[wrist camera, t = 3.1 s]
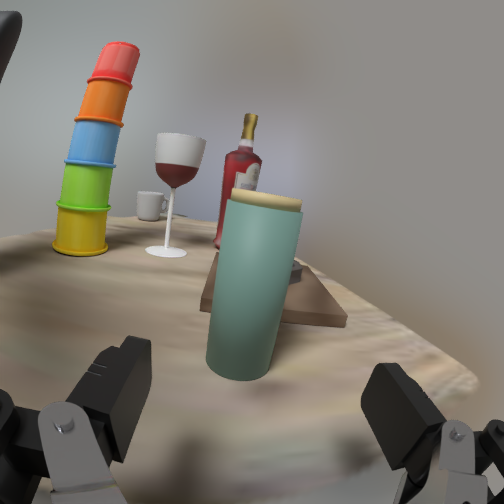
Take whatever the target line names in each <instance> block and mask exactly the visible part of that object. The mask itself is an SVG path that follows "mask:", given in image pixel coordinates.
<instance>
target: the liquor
mask: <svg viewBox="0 0 504 504" xmlns="http://www.w3.org/2000/svg"><path fill="white" fill-rule="evenodd" d="M257 120H258V116H257V115H255V114H245V118H244V129H243V132H242V136H241V140H240V144H239V147H238V150H236V151H232V152H230V153H228V154H227V155H226V157H225V165H224V173H223V181H222V191H221V201H220V209H219V218H218V226H217V234H216V238H215V239H214V241H213V242H214V243H215V245H216V246H217V247H218V249H220V244H221V237H222V230H223V224H224V217H225V211H226V205H227V199H231V193H232V188H237V189H243V190H250V191H256V187H257V183H258V177H259V173H260V168H261V164H262V160H261V159H260V158H259V156H257V155H256V154H254V153H253V141H254V130H255V127H256V125H257Z"/></svg>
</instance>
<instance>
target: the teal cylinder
mask: <svg viewBox="0 0 504 504" xmlns="http://www.w3.org/2000/svg"><path fill="white" fill-rule="evenodd" d="M301 205H302V200H299V199H294V198H289V197H284V196H278V195H273V194H267V193H261V192H256V191H250V190H243V189H237V188H232V193H231V199H227V205H226V211H225V217H224V224H223V230H222V237H221V244H220V251H219V257H218V264H217V272H216V279H215V286H214V294H213V301H212V309H211V317H210V325H209V334H208V342H207V351H206V362H207V365H208V366H209V367H210V369H211V370H213V371H214V372H215V373H217V374H218V375H220V376H222V377H225V378H228V379H232V380H237V381H249V380H255V379H258V378H260V377H262V376H263V375H265V374H266V373H267V371H268V369H269V365H270V361H271V357H272V353H273V349H274V345H275V341H276V337H277V333H278V329H279V324H280V320H281V316H282V311H283V307H284V303H285V298H286V294H287V289H288V285H289V280H290V276H291V271H292V266H293V261H294V257H295V252H296V247H297V241H298V237H299V232H300V227H301V221H302V216H303V213H302V212H300V210H301Z"/></svg>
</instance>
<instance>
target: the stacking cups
mask: <svg viewBox="0 0 504 504" xmlns="http://www.w3.org/2000/svg"><path fill="white" fill-rule="evenodd" d="M119 43H121V44H119ZM108 44H109V45H108ZM108 44H107V45H106V46H105V47H104V48H103V49H102V51H101V54H100V56H99V58H98V61H97V63H96V66H95V69H94V71H93V74H92V77H91V78H89V79H88V80H87V83H88V87H87V90H86V93H85V95H84V99H83V102H82V105H81V108H80V112H79V115H78V117H76V118H75V119H74V121H75V122H76V124H75V128H74V132H73V136H72V140H71V145H70V149H69V154H68V159H65V160H64V162H65V163H66V166H65V171H64V178H63V184H62V191H61V198H60V200H59V201H57V202H56V205H57V206H58V207H59V208H58V218H57V230H56V240H54V241H53V242H52V247H53V248H54V249H55V250H56V251H58V252H60V253H63V254H67V255H74V256H92V255H98V254H102V253H104V252H106V251H107V249H108V245H107V243H105V230H106V219H107V211H109V210H110V209H111V206H110V205H108V199H109V191H110V184H111V178H112V171H113V168H115V167H116V165H113V163H114V157H115V152H116V147H117V142H118V138H119V133H120V128H122V127H123V126H124V124H123V123H122V122H121V120H122V117H123V112H124V108H125V105H126V101H127V97H128V94H129V91H130V90H131V89H132V84H131V81H132V78H133V74H134V71H135V68H136V65H137V62H138V59H139V56H140V53H139V49H138V48H137V47H136V46H135V45H133V44H130V43H126V42H111V43H108Z"/></svg>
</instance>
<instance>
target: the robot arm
mask: <svg viewBox="0 0 504 504" xmlns="http://www.w3.org/2000/svg"><path fill="white" fill-rule="evenodd" d="M21 28H22V16H21V14H20V13H19V12H17V11H0V83H1V80H2V77H3V75H4V72H5V70H6V68H7V65H8V63H9V60H10V58H11V56H12V53H13V51H14V49H15V46H16V43H17V41H18V38H19V35H20V32H21ZM151 380H152V366H151V341H150V340H147V339H143V338H138V337H134V336H130V335H129V336H127V337H126V339H125V340H124V342H123V343H122V345H121V346H120V348H118V347H114V346H111V347H109V348H107V349H106V350H104V351H102V352H100V354H99V355H98V356H97V358H96V359H95V360H94V362H93V364H91V366H90V367H89V368H88V371H87V372H86V373H85V374H84V375H83V377H82V378H81V380H80V381H79V382H78V384H77V385H76V387H75V388H74V390H73V391H72V392H71V394H70V395H69V397H68V398H67V400H66V401H65V402H54V403H51V404H49V405H47V406H45V407H44V408H43V409H42V410H41V411H37V410H32V409H27V408H22V407H17V406H15V405H14V403H13V401H12V399H11V397H10V395H9V394H8V393H7V392H5V391H4V390H2V389H0V504H31V503H32V500H33V498H34V495H35V493H36V490H37V488H38V485H39V483H40V480H41V478H42V477H46V478H51V481H52V485H53V491H51V492H50V496H51V501H52V504H127V502H126V500H125V498H124V496H123V495H122V493H121V491H120V489H119V487H118V485H117V484H116V482H115V480H114V479H113V477H112V474H111V472H110V470H109V467H110V464H111V462H112V460H114V461H117V462H120V463H123V462H124V459H125V456H126V453H127V450H128V447H129V445H130V442H131V439H132V436H133V434H134V431H135V428H136V425H137V423H138V420H139V417H140V415H141V412H142V409H143V407H144V404H145V402H146V399H147V396H148V394H149V391H150V387H151ZM361 408H362V411H363V413H364V415H365V417H366V419H367V421H368V423H369V425H370V427H371V429H372V431H373V433H374V435H375V437H376V439H377V441H378V443H379V445H380V447H381V449H382V451H383V453H384V455H385V457H386V459H387V461H388V463H389V465H390V467H391V469H392V470H397V469H400V468H404V467H405V468H406V471H405V472H404V474H403V475H402V477H401V481H400V484H399V487H398V490H397V493H396V496H395V499H394V502H393V504H504V488H503V489H502V491H501V492H500V493H499V494H497V495H496V496H494V495H493V493H492V492H491V490H490V488H489V486H488V481H487V477H486V476H484V475H481V474H482V473H483V472H484V471H485V470H486V469H487V468H488V467H489V466H490V465H491V464H492V462H494V464H495V465H496V467H497V468H498V470H499V472H500V473H501V475H502V476H503V477H504V422H503V421H501V420H491V421H490V422H489V423H488V424H487V426H486V427H485V429H484V430H483V431H476V432H473V431H472V430H471V429H470V427H469V426H468V425H466V424H465V423H463V422H461V421H458V420H449V421H447V420H446V419H445V418H444V416H443V415H442V414H441V412H440V411H439V410H438V409H437V407H436V406H435V405H434V403H433V402H432V401H431V400H430V398H428V396H427V395H426V393H425V392H423V390H422V388H421V387H420V386H419V385H418V383H417V382H416V381H415V380H413V379H412V378H410V377H409V376H408V375H407V374H406V373H405V372H404V370H403V369H402V368H401V367H400V365H399V364H397V363H379V364H377V365H376V366H375V368H374V370H373V372H372V374H371V377H370V379H369V381H368V383H367V385H366V387H365V389H364V391H363V393H362V396H361Z"/></svg>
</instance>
